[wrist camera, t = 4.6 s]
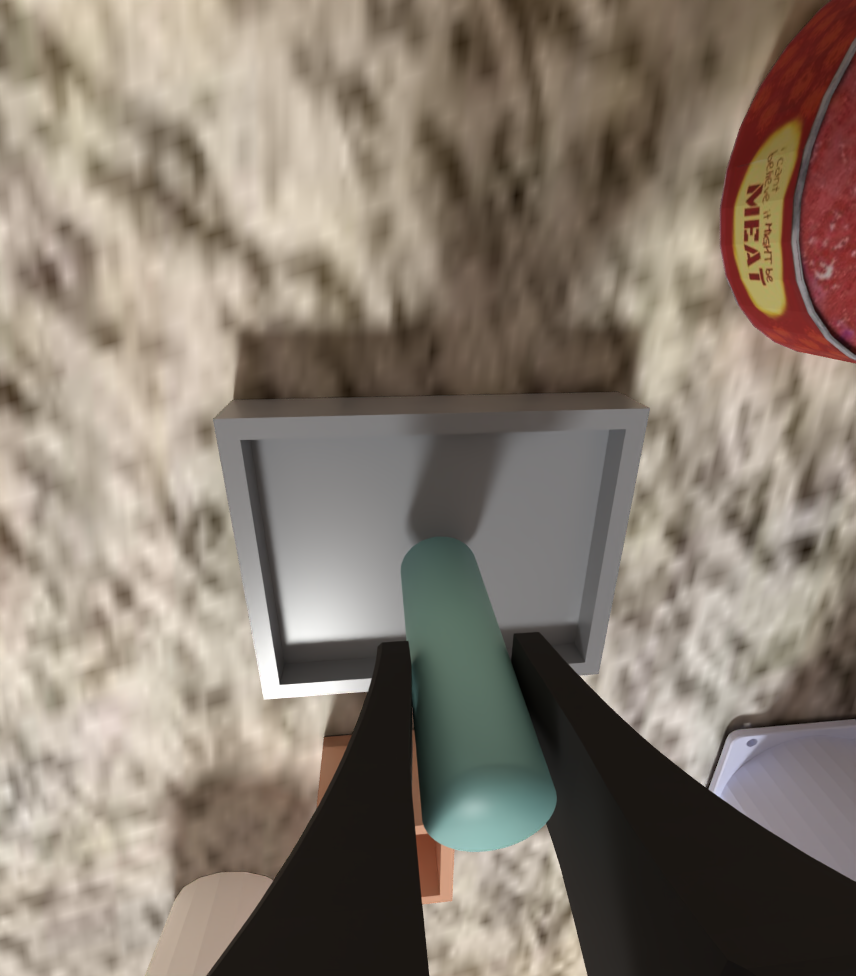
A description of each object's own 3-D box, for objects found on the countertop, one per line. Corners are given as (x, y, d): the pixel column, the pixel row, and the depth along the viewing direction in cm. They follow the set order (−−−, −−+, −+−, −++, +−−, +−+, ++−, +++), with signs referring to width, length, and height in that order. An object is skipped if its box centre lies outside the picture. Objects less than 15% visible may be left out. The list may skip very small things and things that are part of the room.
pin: (478, 534, 15) (564, 756, 8) (475, 599, 16) (549, 844, 9) (399, 538, 15) (421, 769, 8) (401, 603, 16) (421, 857, 9)
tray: (618, 391, 16) (649, 408, 14) (578, 636, 20) (598, 673, 18) (232, 399, 15) (212, 418, 13) (274, 657, 19) (263, 699, 17)
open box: (441, 727, 21) (455, 821, 18) (440, 802, 23) (451, 900, 20) (324, 736, 21) (313, 836, 17) (332, 812, 23) (325, 915, 19)
